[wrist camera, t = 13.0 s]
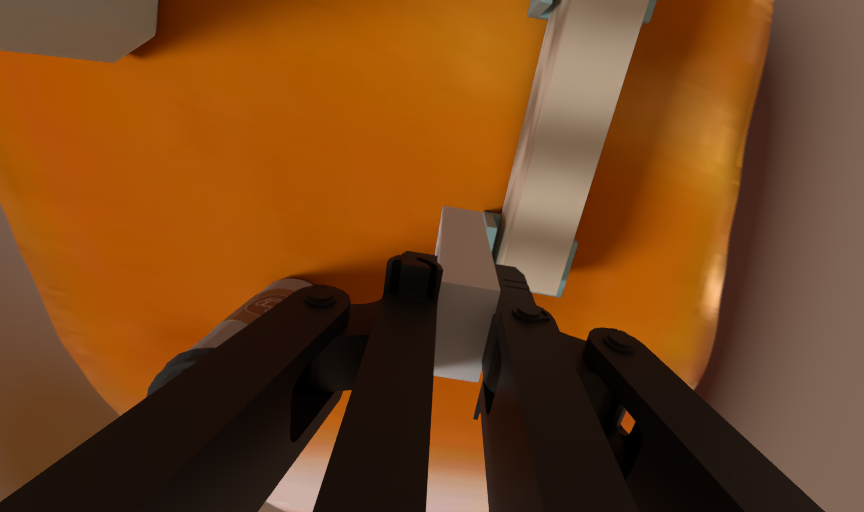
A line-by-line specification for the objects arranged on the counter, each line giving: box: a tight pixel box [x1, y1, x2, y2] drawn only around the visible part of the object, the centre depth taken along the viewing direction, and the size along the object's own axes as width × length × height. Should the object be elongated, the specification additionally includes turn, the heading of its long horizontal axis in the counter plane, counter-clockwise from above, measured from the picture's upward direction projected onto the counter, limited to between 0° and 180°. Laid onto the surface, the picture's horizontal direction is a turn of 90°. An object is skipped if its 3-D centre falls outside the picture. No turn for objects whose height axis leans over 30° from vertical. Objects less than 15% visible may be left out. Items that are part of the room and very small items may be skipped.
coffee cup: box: [147, 279, 313, 397], centre depth 30 cm, size 8×8×15 cm
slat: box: [492, 0, 649, 296], centre depth 27 cm, size 20×4×6 cm, turn 170°
